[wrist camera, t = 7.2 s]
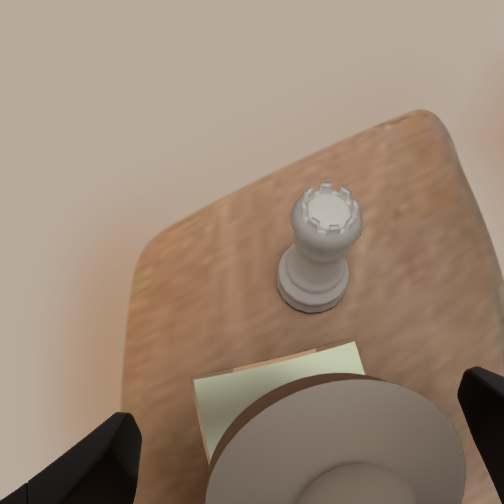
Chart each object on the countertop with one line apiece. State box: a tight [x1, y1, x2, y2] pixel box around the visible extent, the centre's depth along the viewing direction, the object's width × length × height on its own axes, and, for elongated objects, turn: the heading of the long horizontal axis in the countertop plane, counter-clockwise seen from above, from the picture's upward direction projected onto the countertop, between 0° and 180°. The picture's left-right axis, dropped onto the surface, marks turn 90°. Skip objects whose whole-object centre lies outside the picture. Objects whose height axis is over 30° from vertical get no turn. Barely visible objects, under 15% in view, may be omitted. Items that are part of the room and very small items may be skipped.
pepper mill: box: [205, 373, 466, 504], centre depth 8 cm, size 3×3×14 cm
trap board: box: [190, 337, 368, 465], centre depth 13 cm, size 16×9×2 cm, turn 12°
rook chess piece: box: [276, 182, 363, 313], centre depth 17 cm, size 4×4×8 cm
